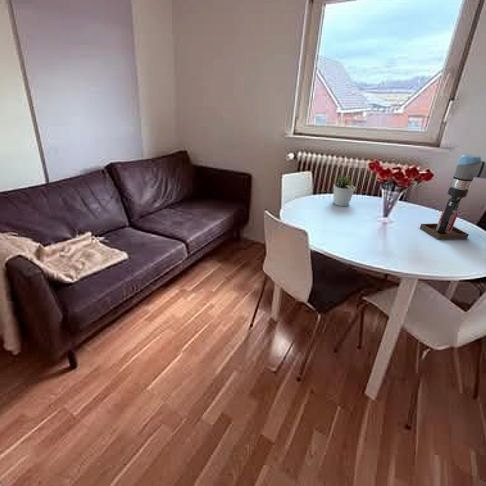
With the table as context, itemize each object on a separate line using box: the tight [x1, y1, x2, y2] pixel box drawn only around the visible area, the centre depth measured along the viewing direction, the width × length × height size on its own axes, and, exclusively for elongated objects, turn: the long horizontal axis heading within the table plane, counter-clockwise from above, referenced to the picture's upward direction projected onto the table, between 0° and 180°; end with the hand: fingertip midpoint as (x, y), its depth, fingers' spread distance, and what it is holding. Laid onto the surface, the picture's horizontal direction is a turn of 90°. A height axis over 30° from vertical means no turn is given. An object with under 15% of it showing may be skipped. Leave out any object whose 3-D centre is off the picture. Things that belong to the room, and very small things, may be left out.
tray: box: [419, 223, 470, 241], centre depth 158 cm, size 13×15×3 cm
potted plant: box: [331, 174, 356, 207], centre depth 192 cm, size 13×14×20 cm
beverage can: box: [436, 209, 458, 234], centre depth 156 cm, size 6×6×12 cm
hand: (443, 230), depth 158 cm, fingers open, 8 cm apart
